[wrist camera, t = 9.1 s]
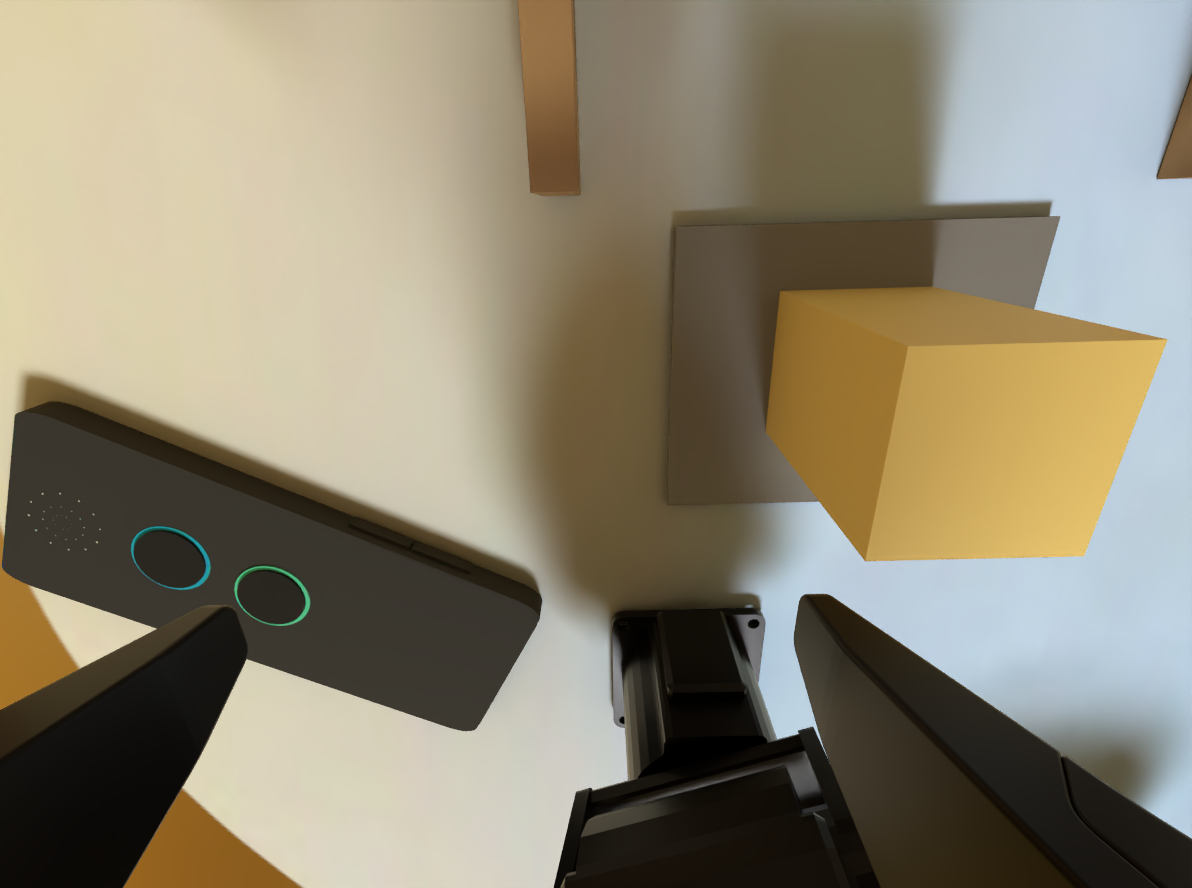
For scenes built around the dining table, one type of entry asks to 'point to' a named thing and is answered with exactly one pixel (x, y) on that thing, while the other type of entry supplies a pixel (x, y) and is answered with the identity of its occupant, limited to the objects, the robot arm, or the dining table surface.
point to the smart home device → (257, 567)
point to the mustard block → (953, 419)
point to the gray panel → (749, 317)
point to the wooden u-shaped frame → (556, 102)
